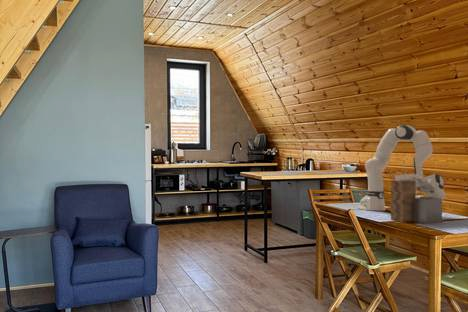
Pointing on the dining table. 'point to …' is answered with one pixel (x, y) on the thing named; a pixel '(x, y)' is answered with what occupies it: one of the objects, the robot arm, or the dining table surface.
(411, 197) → the tall wooden cabinet
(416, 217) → the riser block
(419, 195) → the pneumatic valve
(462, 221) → the dining table surface
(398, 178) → the grey rectangular block
